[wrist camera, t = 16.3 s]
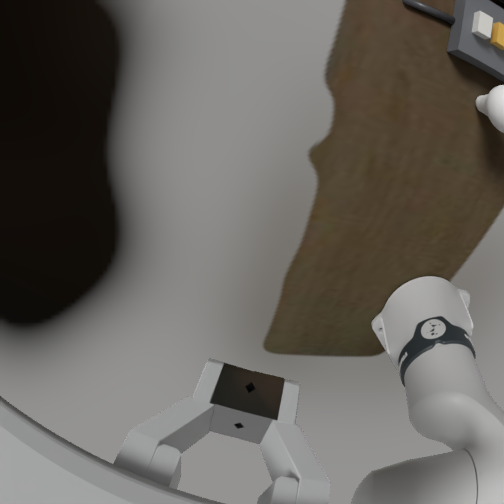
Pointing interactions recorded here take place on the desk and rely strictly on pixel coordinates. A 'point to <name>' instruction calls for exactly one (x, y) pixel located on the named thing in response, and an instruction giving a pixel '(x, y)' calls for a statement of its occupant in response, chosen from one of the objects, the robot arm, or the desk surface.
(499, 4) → the supplement bottle
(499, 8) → the breaker strip
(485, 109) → the lightbulb
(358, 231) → the desk surface
